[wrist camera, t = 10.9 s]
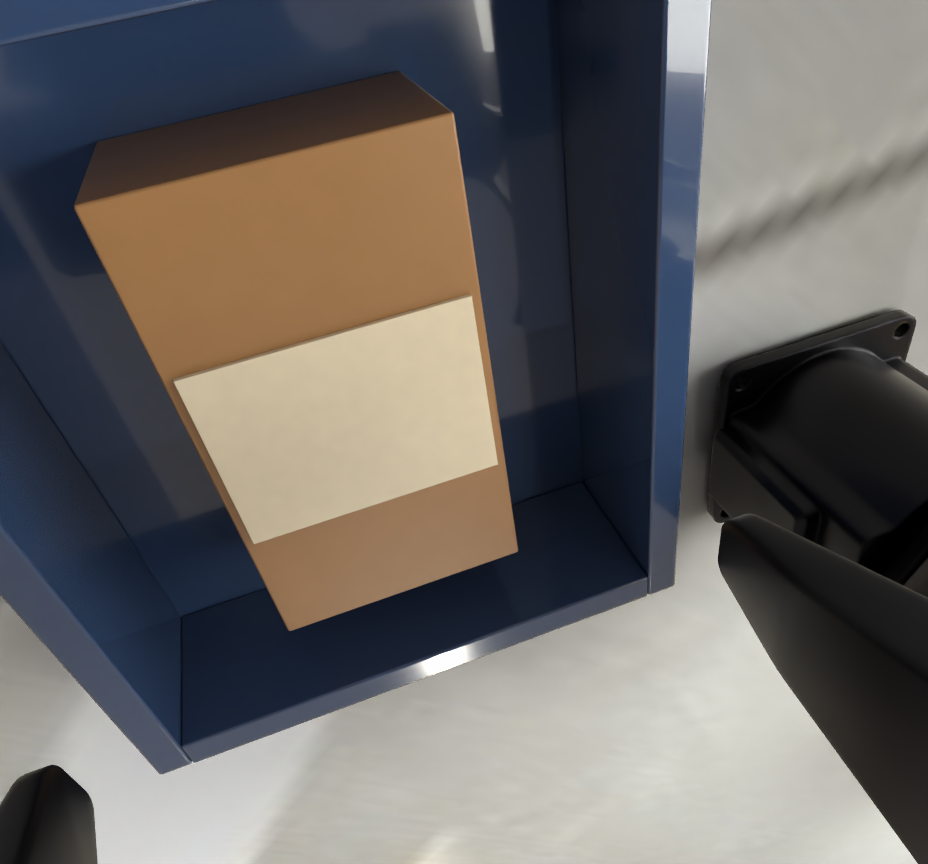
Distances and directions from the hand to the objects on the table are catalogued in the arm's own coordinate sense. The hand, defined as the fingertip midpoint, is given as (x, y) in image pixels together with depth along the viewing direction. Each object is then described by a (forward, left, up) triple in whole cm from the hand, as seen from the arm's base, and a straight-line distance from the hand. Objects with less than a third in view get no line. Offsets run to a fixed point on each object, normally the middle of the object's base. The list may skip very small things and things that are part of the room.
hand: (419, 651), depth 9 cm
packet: (0, 0, -9) cm, 9 cm away
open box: (0, 0, -9) cm, 9 cm away
